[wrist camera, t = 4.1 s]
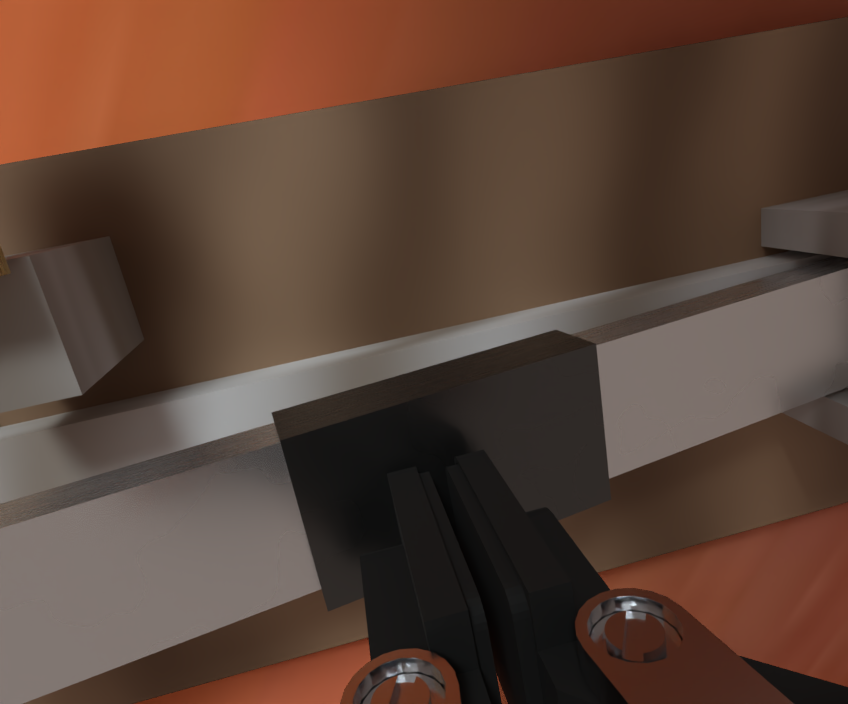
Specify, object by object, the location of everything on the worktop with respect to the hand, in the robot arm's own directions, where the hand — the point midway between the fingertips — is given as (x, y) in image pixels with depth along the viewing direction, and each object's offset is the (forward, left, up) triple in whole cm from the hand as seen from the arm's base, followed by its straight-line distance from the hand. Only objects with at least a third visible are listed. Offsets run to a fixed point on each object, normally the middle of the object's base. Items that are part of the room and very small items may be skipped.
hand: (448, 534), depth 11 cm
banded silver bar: (-1, 0, -2) cm, 2 cm away
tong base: (-1, +1, -6) cm, 7 cm away
